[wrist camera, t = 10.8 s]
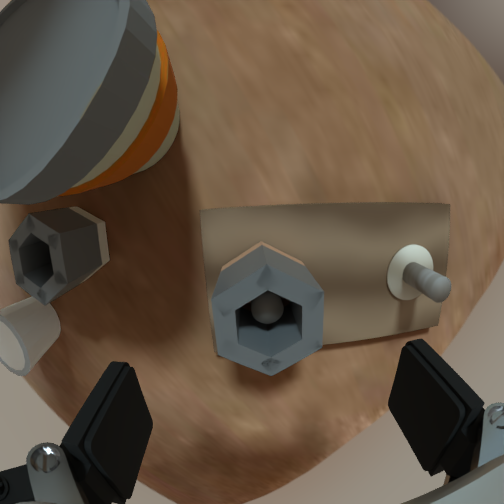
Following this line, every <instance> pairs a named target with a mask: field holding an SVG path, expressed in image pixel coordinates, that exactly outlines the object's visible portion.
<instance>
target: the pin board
mask: <svg viewBox="0 0 504 504" xmlns="http://www.w3.org/2000/svg"><path fill="white" fill-rule="evenodd" d="M200 221H201V234H202V246H203V257H204V267H205V278H206V287H207V297H208V305H209V314H210V322H211V331H212V338H213V346H214V352H218V350H217V343H216V335H215V327H214V319H213V311H212V302H211V298H212V295H213V292H214V289H215V286H216V284H217V281H218V278H219V275H220V272H221V269H222V266H224V265H225V264H227V263H228V262H230V261H231V260H233V259H234V258H236V257H238V256H239V255H241V254H242V253H244V252H245V251H247V250H248V249H250V248H251V247H253V246H254V245H256V244H258V243H259V242H261V241H262V242H264V243H266V244H268V245H270V246H272V247H274V248H276V249H278V250H280V251H282V252H284V253H286V254H288V255H290V256H292V257H294V258H296V259H298V260H300V261H302V262H303V264H304V265H305V266H306V268H307V269H308V270H309V272H310V273H311V274H312V276H313V277H314V279H315V280H316V281H317V283H318V284H319V285H320V287H321V288H322V289H323V291H324V317H323V341H322V345H326V344H335V343H343V342H350V341H357V340H364V339H370V338H376V337H382V336H388V335H394V334H399V333H405V332H410V331H415V330H419V329H424V328H429V327H433V326H438V323H439V317H440V312H441V306H442V302H443V301H444V300H445V299H446V298H447V297H448V296H449V294H450V291H451V282H450V280H449V279H448V278H447V277H446V270H447V260H448V248H449V231H450V204H442V203H387V202H376V203H314V204H286V205H264V206H246V207H229V208H215V209H202V210H200ZM282 299H284V297H282V296H279V295H277V294H275V293H273V292H271V291H269V290H267V291H266V292H264V293H263V294H261V295H259V296H258V297H256V298H255V299H253V300H251V301H250V302H248V303H250V304H251V311H252V315H253V317H254V318H255V319H256V320H257V321H259V322H261V323H264V324H270V323H273V322H276V321H277V320H278V319H279V318H280V317H281V316H282V314H283V310H284V306H283V303H282Z"/></svg>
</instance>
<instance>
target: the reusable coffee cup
mask: <svg viewBox="0 0 504 504" xmlns="http://www.w3.org/2000/svg"><path fill="white" fill-rule="evenodd" d="M179 122H180V112H179V107H178V102H177V85H176V80H175V76H174V72H173V69H172V66H171V62H170V59H169V56H168V52H167V49H166V46H165V43H164V41H163V39H162V37H161V35H160V33H159V32H158V31H157V29H156V22H155V16H154V14H153V12H152V10H151V8H150V7H149V5H148V3H147V1H146V0H12V1H11V2H10V3H9V4H8V5H7V6H5V7H4V8H3V9H2V11H1V12H0V203H7V204H29V205H30V204H35V203H40V202H45V201H48V200H50V199H52V198H54V197H56V196H67V195H73V194H78V193H82V192H85V191H89V190H92V189H96V188H99V187H103V186H107V185H110V184H113V183H116V182H118V181H121V180H124V179H125V178H127V177H128V176H130V175H132V174H135V173H138V172H141V171H144V170H146V169H148V168H149V167H151V166H153V165H154V164H155V163H157V162H158V161H159V160H160V159H161V158H162V157H163V156H164V155H165V154H166V152H167V151H168V150H169V148H170V147H171V145H172V143H173V142H174V140H175V137H176V134H177V132H178V127H179Z"/></svg>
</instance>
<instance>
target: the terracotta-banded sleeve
mask: <svg viewBox="0 0 504 504" xmlns="http://www.w3.org/2000/svg"><path fill="white" fill-rule="evenodd" d="M267 290H269V291H271V292H273V293H275V294H277V295H279V296H282V297H284V299H282V303H283V306H284V310H283V314H282V316H281V317H280V318H279V319H278V320H277V321H276V322H273V323H270V324H264V323H261V322H259V321H257V320H256V319H255V318H254V317H253V315H252V311H251V304H250V303H248V302H250V301H251V300H253V299H255V298H256V297H258V296H259V295H261V294H263V293H264V292H266V291H267ZM211 302H212V311H213V319H214V327H215V335H216V343H217V350H218V355H219V356H222V357H224V358H227V359H229V360H231V361H234V362H236V363H239V364H241V365H244V366H246V367H249V368H251V369H254V370H257V371H259V372H262V373H265V374H267V375H270V376H273V375H274V374H276V373H278V372H280V371H282V370H284V369H286V368H287V367H289V366H291V365H293V364H295V363H296V362H298V361H300V360H302V359H303V358H305V357H307V356H309V355H310V354H312V353H314V352H315V351H317V350H319V349H321V348H322V341H323V317H324V291H323V289H322V288H321V287H320V285H319V284H318V283H317V281H316V280H315V279H314V277H313V276H312V274H311V273H310V272H309V270H308V269H307V268H306V266H305V265H304V264H303V262H302V261H300V260H298V259H296V258H294V257H292V256H290V255H288V254H286V253H284V252H282V251H280V250H278V249H276V248H274V247H272V246H270V245H268V244H266V243H264V242H262V241H261V242H259V243H258V244H256V245H254V246H253V247H251V248H250V249H248V250H247V251H245V252H244V253H242V254H241V255H239V256H238V257H236V258H234V259H233V260H231V261H230V262H228V263H227V264H225V265H224V266H222V269H221V272H220V275H219V278H218V281H217V284H216V286H215V289H214V292H213V295H212V298H211Z"/></svg>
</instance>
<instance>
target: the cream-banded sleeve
mask: <svg viewBox="0 0 504 504" xmlns="http://www.w3.org/2000/svg"><path fill="white" fill-rule="evenodd" d="M9 247H10V254H11V259H12V265H13V270H14V275H15V280H16V284H17V285H19V286H20V287H21V288H22V289H24V290H25V291H26V292H27V293H29V294H30V295H31V296H33V297H34V298H35V299H36V300H38V301H39V302H40V303H42V304H43V305H45V306H46V305H47V304H49V303H50V302H52V301H53V300H55V299H57V298H58V297H60V296H61V295H63V294H64V293H66V292H68V291H69V290H71V289H73V288H74V287H76V286H77V285H79V284H81V283H82V282H84V281H86V280H87V279H88V278H89V277H91V276H92V275H93V274H94V273H95V272H96V271H98V270H99V269H100V268H101V267H102V266H104V265H105V264H106V263H107V262H108V261H110V258H109V251H108V243H107V235H106V227H105V222H104V221H102V220H101V219H99V218H97V217H95V216H93V215H92V214H90V213H88V212H86V211H84V210H83V209H81V208H79V207H77V206H76V207H68V208H61V209H54V210H47V211H41V212H35V213H29V214H28V215H27V216H26V218H25V219H24V220H23V222H22V223H21V224H20V226H19V227H18V228H17V230H16V231H15V232H14V234H13V235H12V236H11V238H10V239H9Z"/></svg>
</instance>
